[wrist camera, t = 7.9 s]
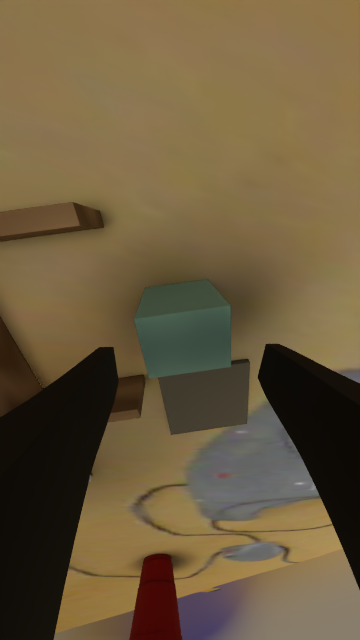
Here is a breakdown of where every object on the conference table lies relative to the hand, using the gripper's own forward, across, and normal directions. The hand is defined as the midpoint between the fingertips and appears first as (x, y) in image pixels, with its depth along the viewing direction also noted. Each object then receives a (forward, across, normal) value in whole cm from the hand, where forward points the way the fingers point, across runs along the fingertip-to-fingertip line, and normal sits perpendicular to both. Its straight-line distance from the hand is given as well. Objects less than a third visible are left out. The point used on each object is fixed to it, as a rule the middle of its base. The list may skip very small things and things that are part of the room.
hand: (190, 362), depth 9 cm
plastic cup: (+8, +4, +56) cm, 57 cm away
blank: (+8, 0, 0) cm, 8 cm away
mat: (+8, -3, +11) cm, 13 cm away
